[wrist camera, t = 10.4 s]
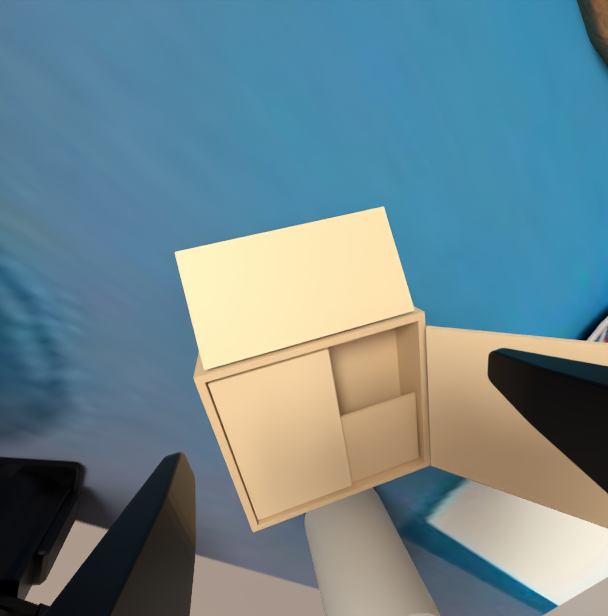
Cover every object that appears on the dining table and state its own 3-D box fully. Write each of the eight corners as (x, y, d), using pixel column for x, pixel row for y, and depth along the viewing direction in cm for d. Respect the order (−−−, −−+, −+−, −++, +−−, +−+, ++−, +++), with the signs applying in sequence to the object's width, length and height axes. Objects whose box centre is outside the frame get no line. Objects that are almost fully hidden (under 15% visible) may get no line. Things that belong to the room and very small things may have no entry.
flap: (431, 465, 23) (631, 536, 17) (425, 327, 19) (695, 354, 13) (432, 461, 24) (629, 530, 17) (427, 324, 19) (691, 349, 13)
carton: (249, 490, 25) (253, 532, 22) (163, 253, 18) (149, 264, 14) (407, 435, 28) (430, 465, 24) (389, 204, 20) (420, 204, 17)
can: (374, 519, 30) (456, 697, 19) (304, 541, 29) (350, 746, 18) (375, 465, 28) (470, 634, 17) (298, 485, 26) (348, 685, 15)
